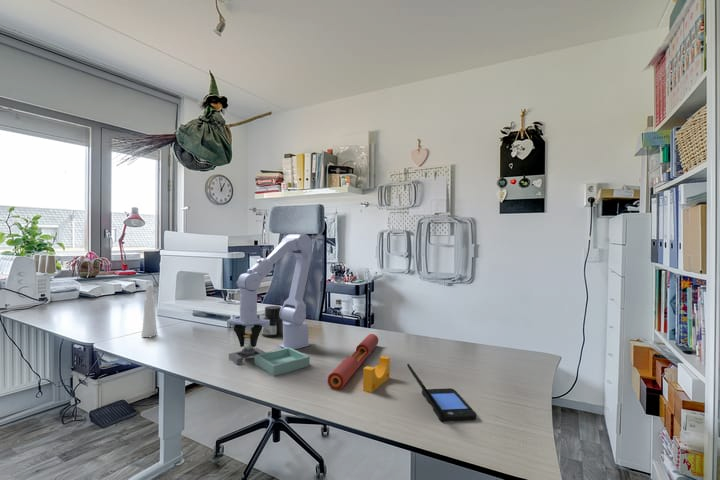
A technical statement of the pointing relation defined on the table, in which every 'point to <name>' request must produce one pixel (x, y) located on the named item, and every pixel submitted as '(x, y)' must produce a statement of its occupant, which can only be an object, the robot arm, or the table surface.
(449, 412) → the black handheld device
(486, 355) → the table surface
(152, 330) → the cosmetic bottle
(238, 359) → the bracket
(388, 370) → the pipe clamp
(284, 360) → the tray
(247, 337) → the glass jar
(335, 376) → the blood vessel
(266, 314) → the ink bottle
